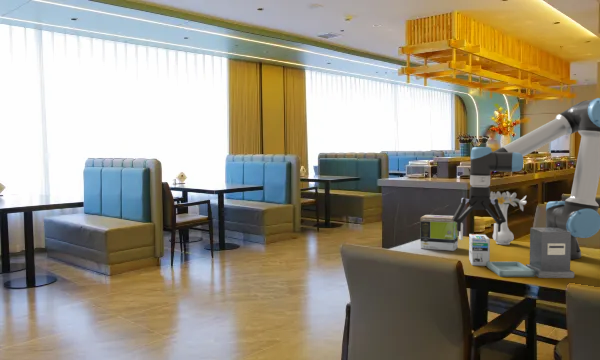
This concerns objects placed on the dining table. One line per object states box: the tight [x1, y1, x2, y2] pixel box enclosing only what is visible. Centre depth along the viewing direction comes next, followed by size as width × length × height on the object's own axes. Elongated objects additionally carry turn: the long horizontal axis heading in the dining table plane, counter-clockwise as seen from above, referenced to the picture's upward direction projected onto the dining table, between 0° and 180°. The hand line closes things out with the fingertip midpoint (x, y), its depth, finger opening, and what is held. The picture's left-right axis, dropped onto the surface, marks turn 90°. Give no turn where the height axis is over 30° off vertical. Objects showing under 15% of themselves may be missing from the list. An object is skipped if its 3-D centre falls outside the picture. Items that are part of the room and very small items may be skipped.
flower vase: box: [490, 191, 527, 246], centre depth 241 cm, size 13×18×25 cm
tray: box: [486, 261, 536, 278], centre depth 188 cm, size 12×15×2 cm
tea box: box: [419, 214, 459, 252], centre depth 232 cm, size 15×10×15 cm, turn 62°
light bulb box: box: [468, 233, 491, 267], centre depth 202 cm, size 11×7×11 cm, turn 168°
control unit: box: [525, 227, 575, 279], centre depth 184 cm, size 12×12×16 cm
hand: (478, 239), depth 202 cm, fingers open, 13 cm apart
